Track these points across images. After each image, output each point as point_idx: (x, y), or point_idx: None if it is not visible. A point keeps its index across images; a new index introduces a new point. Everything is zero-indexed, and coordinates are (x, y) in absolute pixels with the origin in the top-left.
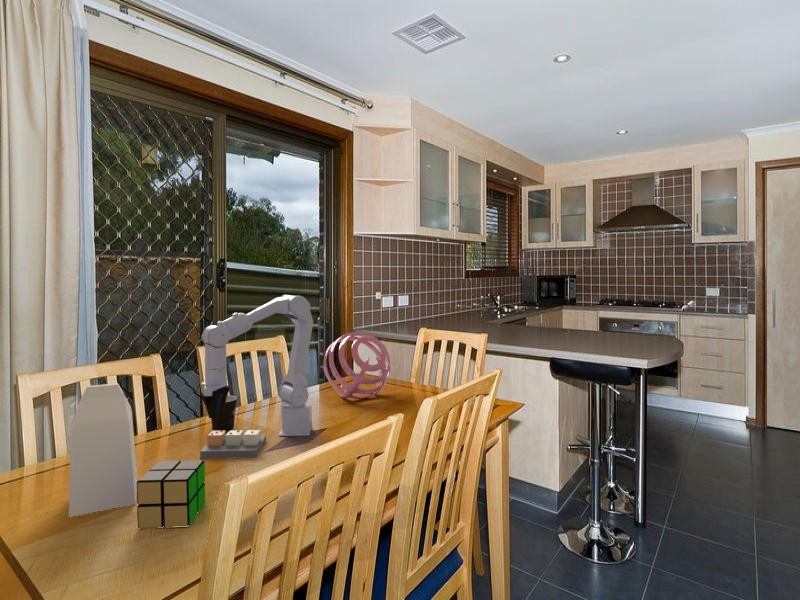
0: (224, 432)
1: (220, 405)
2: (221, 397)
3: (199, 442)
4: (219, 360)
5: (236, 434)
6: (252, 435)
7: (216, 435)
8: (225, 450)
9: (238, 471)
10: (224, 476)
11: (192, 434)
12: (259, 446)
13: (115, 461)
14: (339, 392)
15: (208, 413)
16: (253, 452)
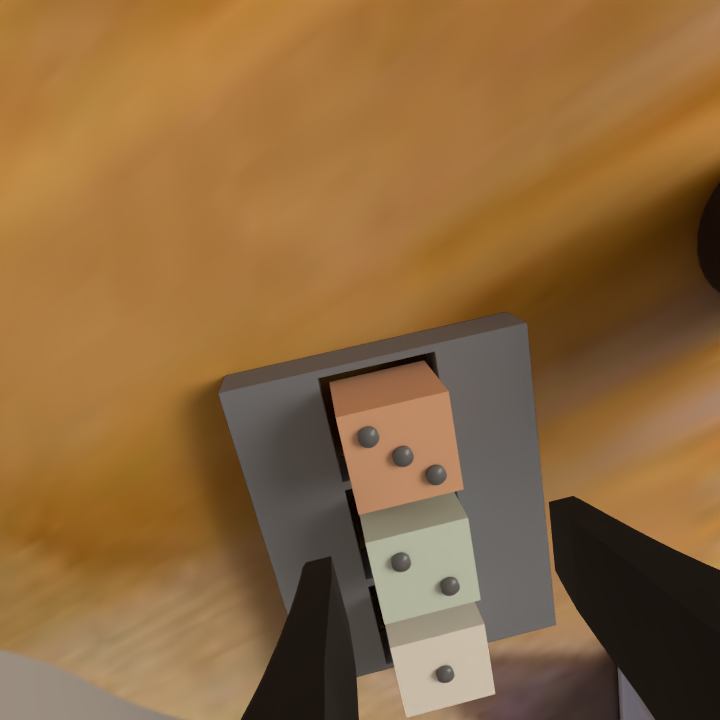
0: (433, 492)
1: (598, 600)
2: (684, 717)
3: (499, 200)
4: None
5: (389, 603)
6: (399, 687)
7: (351, 478)
8: (271, 539)
9: (118, 659)
10: (37, 631)
11: (666, 32)
12: (382, 665)
13: None
14: None
15: (293, 607)
16: None
